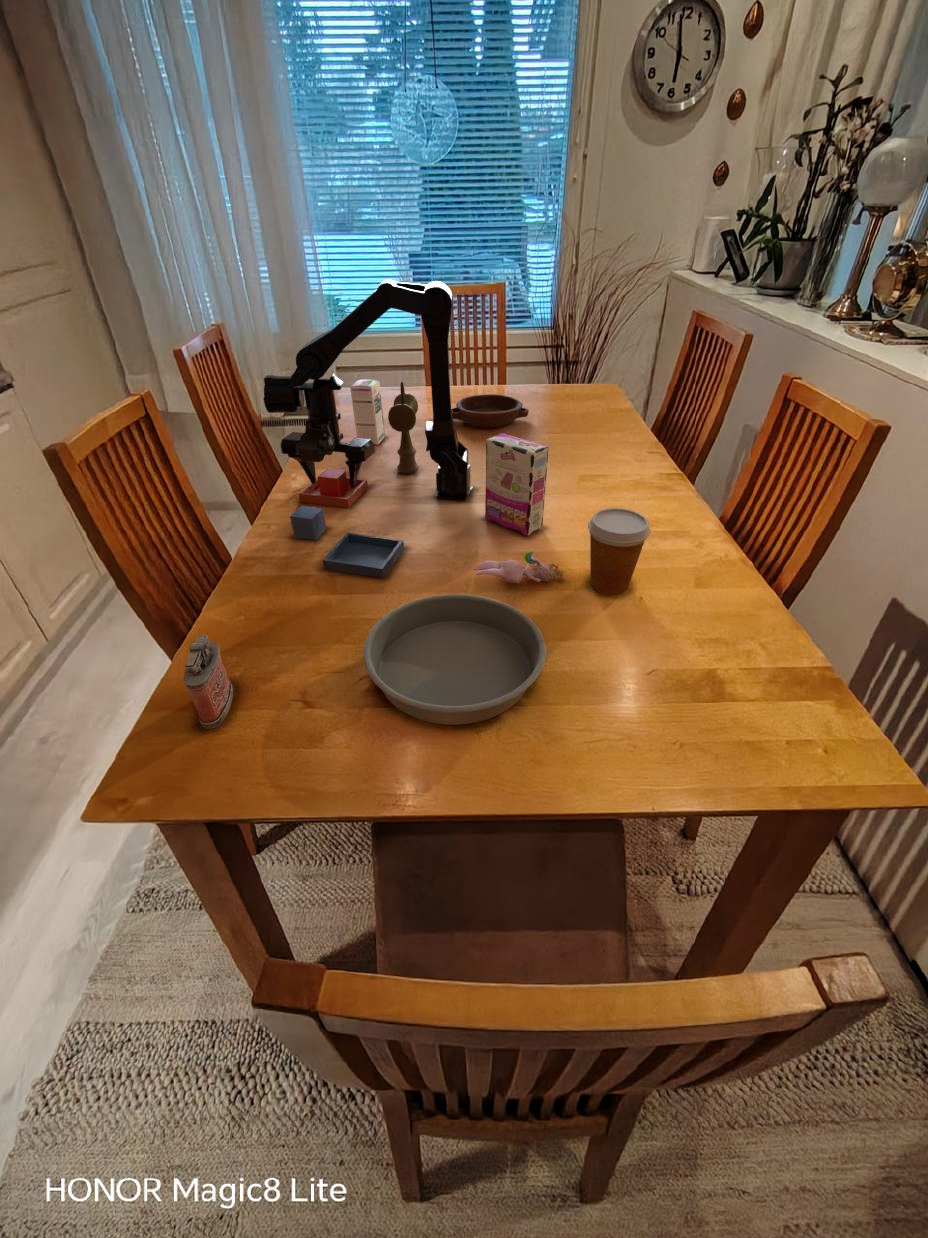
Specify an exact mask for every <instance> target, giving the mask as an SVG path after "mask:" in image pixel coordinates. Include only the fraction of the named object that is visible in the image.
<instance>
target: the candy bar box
mask: <svg viewBox="0 0 928 1238" xmlns="http://www.w3.org/2000/svg"><path fill="white" fill-rule="evenodd" d="M485 443H486V445H485V446H486V447H485V500H484V501H485V505H484V506H485V507H484V508H485V510H484V518H485V520H487V521H489V522H492V523H495V524H497V525H499V526H502V527H504V528H507V529H509V530H512V531H514V532H517V533H519V534H522V535H524V536H527V537H528V536H530V535H533V534H534V533H536V532H538V531H540V530H541V529H543V526H544V525H543V524H544V510H545V498H546V485H547V471H548V463H549V462H548V460H549V449H550V447H549V445H544V444H541V443H537V442H534V441H531V440H527V439H524V438H520V437H517V436H513V435H509V434H507V433H503V432H502V433H499V434H497V435H494V436H492V437H489V438H486V440H485Z"/></svg>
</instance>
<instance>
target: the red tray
mask: <svg viewBox="0 0 928 1238" xmlns="http://www.w3.org/2000/svg"><path fill="white" fill-rule="evenodd" d="M347 481H348V489H349V490H348V491H347V492H346V493H345V494H344V495H343V496H342V497H333V496H325V495H321V494H320V489H319V483H318V476H316V482H315V483H314V484H312V483H311V482H310V483H309V484H308V485H307V486H305V487H304V488H303V489H302V490H301V491H300V492H298V498H299V502H301V503H308V504H315V505H324V506H330V507H331V506H332V507H340V508H346V509H347V508H348V509H349V508H350V507H351V506H353V504H354V503H355V502H356V501H357V500H358V499H359V498H360V497H362V495H363V494H364V492H365V491H367V490H368V488H369V483H368V479H366V478H357V481H356V484H355V487H354V488H351V485H350V478H349V476H347Z"/></svg>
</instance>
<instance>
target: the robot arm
mask: <svg viewBox="0 0 928 1238" xmlns="http://www.w3.org/2000/svg"><path fill="white" fill-rule="evenodd" d="M453 298H454V297H453V293H452V290H451V288H449V286H448V285H447V284H446V283H444V282H442V281H438V280H437V281H436V280H435V281H431V282H429V283H428V284H421V283H414V282H399V281H395V280H392V279H384V280H383V281H382V282H381V283H380V284H379V285H378V287H377V288H376V289H374V291H373V292H371V294H370V295H368V296H367V297H366V298H365V299H363V301H362V302H361V303H359V304H358V305H357V306H356V307H355V308H354V309H353V310H351V312H349V313H348V314H347V315H346V316H345V317H344V318H343V319H342V320H340V322H339V323H337V324H336V325H335V326H334V327H332V328H331V329H329V330H326V331H325V332H323V333H321V334H319V335H317V337H315V338H313V339H311V340H309V341H308V342H306V343H305V344H304V345H303V346H302V347H301V349H300V350H299V351H298V352H297V353H296V356H295V365H296V368H295V370H294V372H292V374H291V375H274V374H267V375H266V376H265V377H264V378H263V382H264V387H263V404H264V407H265V410H266V411H267V413H270V414H278V413H279V414H282V413H283V414H288V413H290V414H292V413H293V414H294V413H296V414H298V413H299V412H300V409H301V408H304V406H306V412H307V419H305V421H304V426H305V430H304V432H299V431H292V432H291V433H289V434H287V435H286V436H285V437H283V438H282V439H281V440H280V443H279V446H280V451H281V454H284V455H287V456H288V458H291V459H293V460H295V461H297V462H298V464H299V465H300V466H301V467H302V470H303V471H304V473H305V474H306V476H307V478H308V480H309V482H310V483H312V484H314V483H315V482H316V478H317V473H316V464H315V463H321V462H323V460H324V459H325V457H326V456H332V455H333V452H335V453H342V454H344V456H345V458H346V459H347V460H346V461H345V462H344V463H345V464H346V466H347V467H348V478H350V485H351V488H354V487H355V484H356V481H357V479H359V478H358V477H359V474H360V470H361V468H362V465H363V462H366V461H367V460H368V459H369V458H370V457H371V456H372V455H374V454H375V453H376V452H375V451H376V449H375V445H374V444H373V442H372V441H371V440H370V439H361V438H357V437H354V438H353V439H352V440H351V441H350V442H349V443H348V442H342V440H343V439H344V433H341V431H340V424H339V421H340V419H342V417H341V413H340V412H339V413H338V410H337V403H336V395H335V391H341V389H342V387H343V386H344V381H342V380H341V379H340V378H338V377H337V375H336V374H335V373H332V374H331V375H330V377H329V378H323V377H324V376H325V375H326V373H327V372H328V370H329V369H330V368H331V366H332V365H333V364H334V362H335V361H336V360H337V359H338V357H339V356H340V355H341V354H342V352H343V351H344V349H346V348H347V347H348V346H349V345H350V344H351V343H353V342H354V340H356V339H357V338H358V337H359V336H360V335H361V334H363V333H364V332H365V331H366V330H367V329H368V328H369V327H370V326H372V325H374V323H375V322H376V321H377V320H378V319H380V318H381V317H382V316H383V315H384V314H385V313H387V312H388V311H389V310H390V309H393V310H398V311H402V312H405V313H409V314H413V315H417V316H421V321H422V325H423V329H424V332H425V336H426V339H427V343H428V355H429V373H430V388H431V402H432V403H431V404H432V421H429V420H427V421H426V422H425V428H424V429H425V430H424V433H425V438H426V447H425V452H429V456H430V458H431V460H432V461H433V462H434V463H435V464H438V467H437V472H436V473H435V483H436V485H435V486H436V488H435V489H436V492H437V494H436V495H435V496H436V498H437V499H445V500H451V501H452V500H453V501H461V502H464V501H466V500H468V497H469V496H470V494H471V493H472V491H473V489H474V488H473V486H472V485H471V464H469V449H468V448H467V447H466V445H464V444H463V443H462V442H460V440H459V435H458V432H457V428H456V423H455V419H453V416H452V412H451V409H452V394H451V391H452V390H451V370H450V350H449V349H450V348H449V347H450V346H449V335H450V328H451V327H450V326H451V318H452V309H453V300H454V299H453ZM309 380H313V382H308V381H309Z"/></svg>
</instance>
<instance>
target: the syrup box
mask: <svg viewBox="0 0 928 1238" xmlns="http://www.w3.org/2000/svg"><path fill="white" fill-rule="evenodd" d="M349 388H350V394H351V403H352V404H351V405H352V410H353V418H354V424H355V432H356V438H361V439H370V440H371V441H372V442H373V444H374V446H375V445H377V446H379V445H380V443H381V442H382V441H383V440H384V438H385V437H386V431H385V422H384V421H385V420H384V412H383V411H384V410H383V403H382V395H381V385H380V380H377V379H358V380H357V381H355V382H354V383H353V384H351V385H350V387H349Z"/></svg>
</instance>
